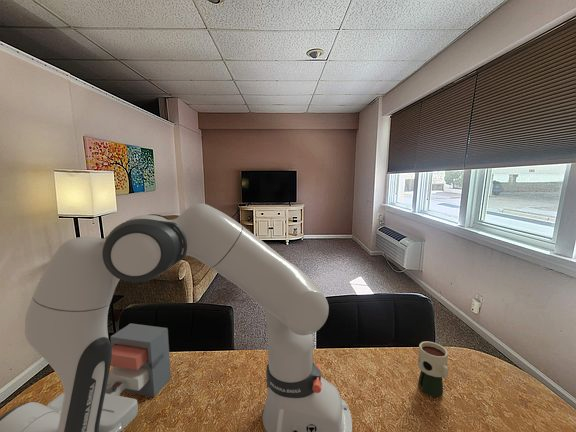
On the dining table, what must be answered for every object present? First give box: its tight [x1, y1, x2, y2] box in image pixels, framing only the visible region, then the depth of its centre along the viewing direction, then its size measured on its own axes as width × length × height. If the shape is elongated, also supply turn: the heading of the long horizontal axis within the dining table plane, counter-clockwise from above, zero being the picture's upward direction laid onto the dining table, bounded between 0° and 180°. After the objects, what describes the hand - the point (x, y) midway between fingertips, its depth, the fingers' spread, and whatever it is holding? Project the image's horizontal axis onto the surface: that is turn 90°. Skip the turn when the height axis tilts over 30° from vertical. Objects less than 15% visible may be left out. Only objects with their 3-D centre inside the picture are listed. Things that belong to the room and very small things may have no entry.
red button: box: [110, 344, 148, 370], centre depth 68 cm, size 4×10×3 cm, turn 78°
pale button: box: [107, 366, 150, 391], centre depth 69 cm, size 4×10×3 cm, turn 78°
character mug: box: [417, 341, 449, 398], centre depth 71 cm, size 11×7×13 cm, turn 8°
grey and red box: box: [110, 323, 172, 398], centre depth 74 cm, size 7×13×16 cm, turn 78°
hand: (121, 383), depth 66 cm, fingers closed
